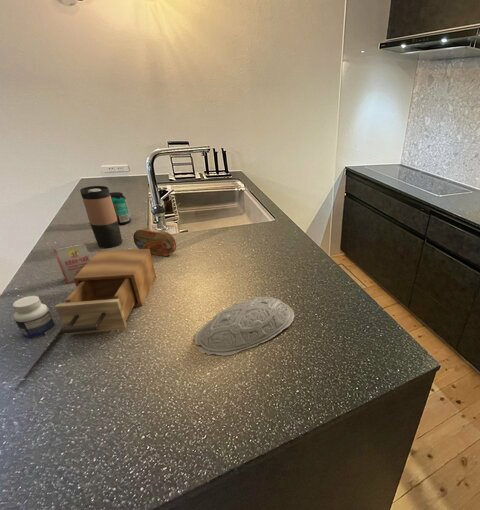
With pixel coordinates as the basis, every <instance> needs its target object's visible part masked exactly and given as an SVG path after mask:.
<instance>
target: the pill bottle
mask: <svg viewBox="0 0 480 510" xmlns="http://www.w3.org/2000/svg"><path fill="white" fill-rule="evenodd" d="M12 307H13V310H14V311H15V312H14V314H13V319H14V322H15V323H16V326H17V327H18V329H19V331H20V333H21V335H22V337H23V338H25V339H29V340H32V339H33V340H34V339H38V338H41V337H44V336H46V335H48V334H51V333H52V332H53V331H54V330H55V329H56V327H57V325H56V322H55V320H54V318H53V315H52V313H51V311H50V309H49V306H47V305H46V304H45V303H42V300H41V299H40V297H39V296H37V295H28V296H24V297H22V298H19V299H17V300H15V301H13V304H12Z"/></svg>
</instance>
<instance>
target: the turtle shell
mask: <svg viewBox="0 0 480 510" xmlns="http://www.w3.org/2000/svg"><path fill="white" fill-rule="evenodd" d="M294 319H295V312H294V310H293V309H292V308H291V307H290V306H289V305H288V304H287V303H284V302H283V301H282V300H280V299H279V298H275V297H268V296H267V297H266V296H256V297H253V298H250V299H247V300H244V301H239V302H237V303H234V304H233V305H231V306H228V307H227V308H224V309H223V310H221V311H219V312H218V313H216V315H214V317H213V318H212V319H210V320H209V321H207V322H206V323H205V324H204V325H203V326H201V327H200V328H199V329H198V331H197V332H196V336H195V342H194V344H195V345H197V346H200V347H201V348H199V349H198V352H199V353H201V354H206V355H208V356H210V355H217V356H223V357H224V356H225V357H226V356H231V355H235V354H236V353H240V352H242V351H245V350H247V349H252V348H255V347H257V346H258V345H260V344H264V343H265V342H267V341H269V340H271V339H273V338H274V337H276V336H277V335H279V334H280V333H282V331H283V330H285V329H287V328H289V327H290V326H291V324H292V323H293V321H294Z"/></svg>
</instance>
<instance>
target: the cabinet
mask: <svg viewBox="0 0 480 510" xmlns="http://www.w3.org/2000/svg"><path fill="white" fill-rule="evenodd" d="M90 259H91V260H90V261H89V262H88V263H87V264H86V265H85V266H84V267H83V268H82V269H81V271H80V272H79V273H78V274H77V275H76V276H75V277H74V278H73V279H74V281H75V282H74V284H75V286H76V287H77V286H78V285H79V284H80V283H81V282H82V281H84V280H99V279H115V278H130V277H131V280H132V283H133V287H134V291H135V294H136V298H137V300H136V302H135V304H134V306H133V308H135V307H142V306H143V305H144V303H145V301H146V299H147V297H148V295H149V292H150V291H151V288H152V286H153V284H154V282H155V280H156V278H157V275H156V271H155V270H156V269H155V267H154V261H153V258H152V254H151V253H150V249H138V248H135V249H116V250H115V249H113V250H111V249H110V250H98V251H97V252H96V253H95V254H94V255H93V257H91V258H90ZM76 287H75V288H76Z"/></svg>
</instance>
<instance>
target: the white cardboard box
mask: <svg viewBox="0 0 480 510" xmlns="http://www.w3.org/2000/svg"><path fill="white" fill-rule="evenodd" d="M53 252H54V255H55V258H56V260H57V263H58V265H59V268H60V270H61V272H62V275H63V277H64V280H65V284H67V285H68V284H72V283H75V281H74V279H73V278H74V277H75V276H76V275H77V274H78V273H79V272H80V271H81V269H82V268H83V267H84V266H85V265H86V264H87V263H88V262H89V261H90V260H91V259H92V258H91V256H90V253H89V251H88V248H87V245H86V243H81V244H75V245H70V246H66V247H60V248H54V249H53Z"/></svg>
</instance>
